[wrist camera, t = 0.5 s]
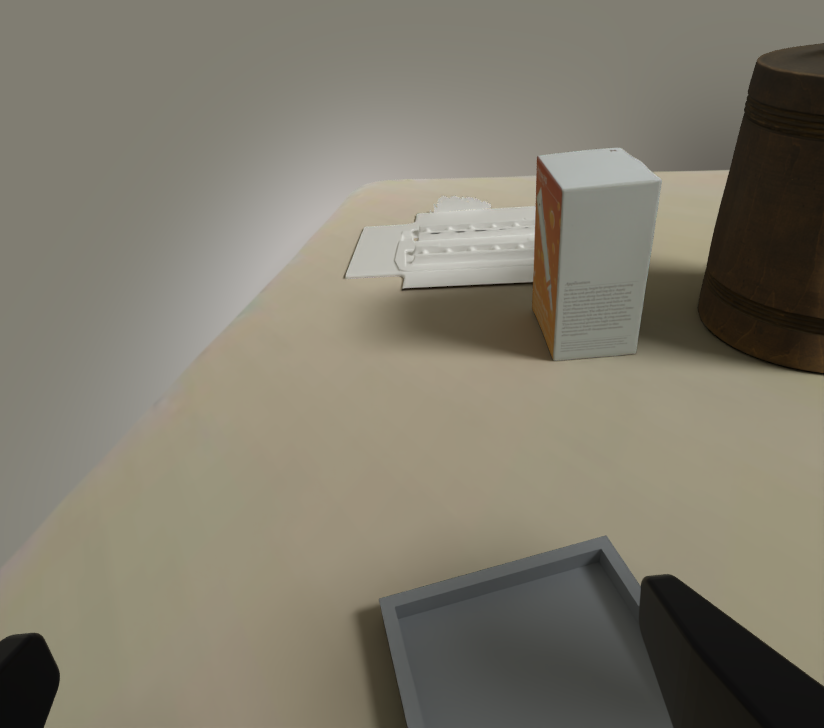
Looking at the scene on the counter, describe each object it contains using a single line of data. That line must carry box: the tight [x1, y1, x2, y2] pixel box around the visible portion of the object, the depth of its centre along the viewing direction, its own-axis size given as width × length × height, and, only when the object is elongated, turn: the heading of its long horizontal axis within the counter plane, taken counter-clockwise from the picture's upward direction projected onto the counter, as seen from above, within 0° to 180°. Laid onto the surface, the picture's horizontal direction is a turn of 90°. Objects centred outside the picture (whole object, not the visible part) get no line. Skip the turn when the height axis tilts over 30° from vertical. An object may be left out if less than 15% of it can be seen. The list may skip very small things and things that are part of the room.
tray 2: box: [345, 195, 536, 289], centre depth 61 cm, size 20×28×4 cm
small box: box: [532, 148, 662, 361], centre depth 42 cm, size 8×6×13 cm
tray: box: [379, 536, 673, 728], centre depth 22 cm, size 11×11×2 cm
